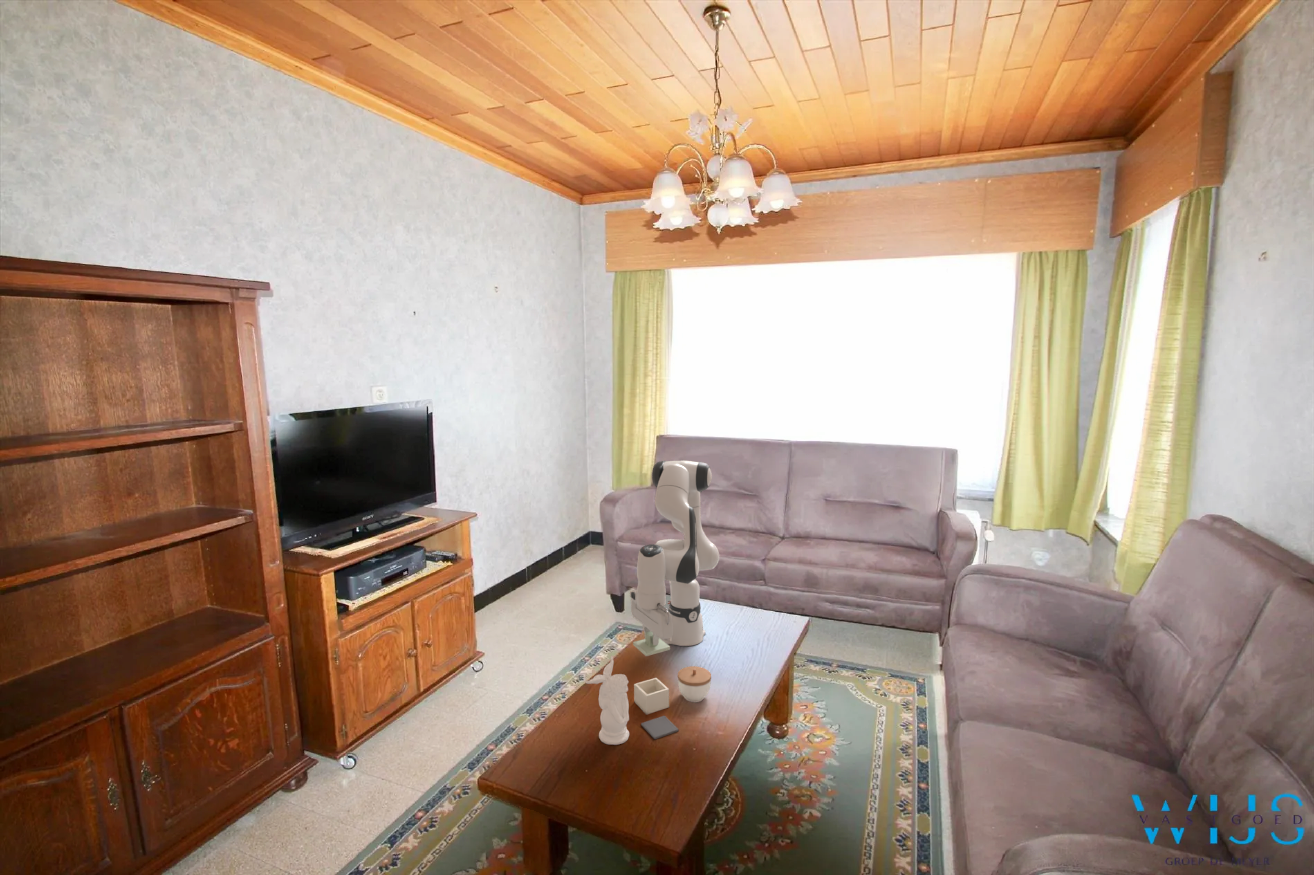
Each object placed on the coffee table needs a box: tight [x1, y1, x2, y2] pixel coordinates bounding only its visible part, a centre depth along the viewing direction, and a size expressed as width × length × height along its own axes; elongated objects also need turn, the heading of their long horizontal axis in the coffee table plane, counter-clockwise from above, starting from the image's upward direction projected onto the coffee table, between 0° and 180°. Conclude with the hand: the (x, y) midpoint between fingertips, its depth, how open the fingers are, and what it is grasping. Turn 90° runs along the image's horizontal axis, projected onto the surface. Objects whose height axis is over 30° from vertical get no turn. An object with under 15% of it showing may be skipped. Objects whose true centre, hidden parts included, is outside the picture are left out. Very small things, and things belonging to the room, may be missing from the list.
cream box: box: [633, 677, 670, 715], centre depth 191 cm, size 8×8×6 cm
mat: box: [640, 715, 679, 740], centre depth 179 cm, size 8×8×1 cm
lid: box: [632, 631, 671, 657], centre depth 189 cm, size 8×8×4 cm
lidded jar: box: [677, 665, 712, 703], centre depth 195 cm, size 11×11×9 cm
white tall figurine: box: [584, 655, 630, 746], centre depth 174 cm, size 12×12×22 cm
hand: (651, 641), depth 189 cm, fingers closed on lid, 3 cm apart
